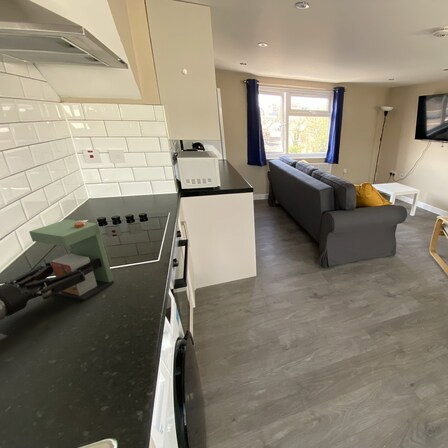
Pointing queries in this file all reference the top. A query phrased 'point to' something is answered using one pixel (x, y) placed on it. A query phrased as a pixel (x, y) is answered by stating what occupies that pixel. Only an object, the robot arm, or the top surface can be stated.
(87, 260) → the small box
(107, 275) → the coffee maker
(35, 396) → the top surface
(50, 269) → the robot arm
